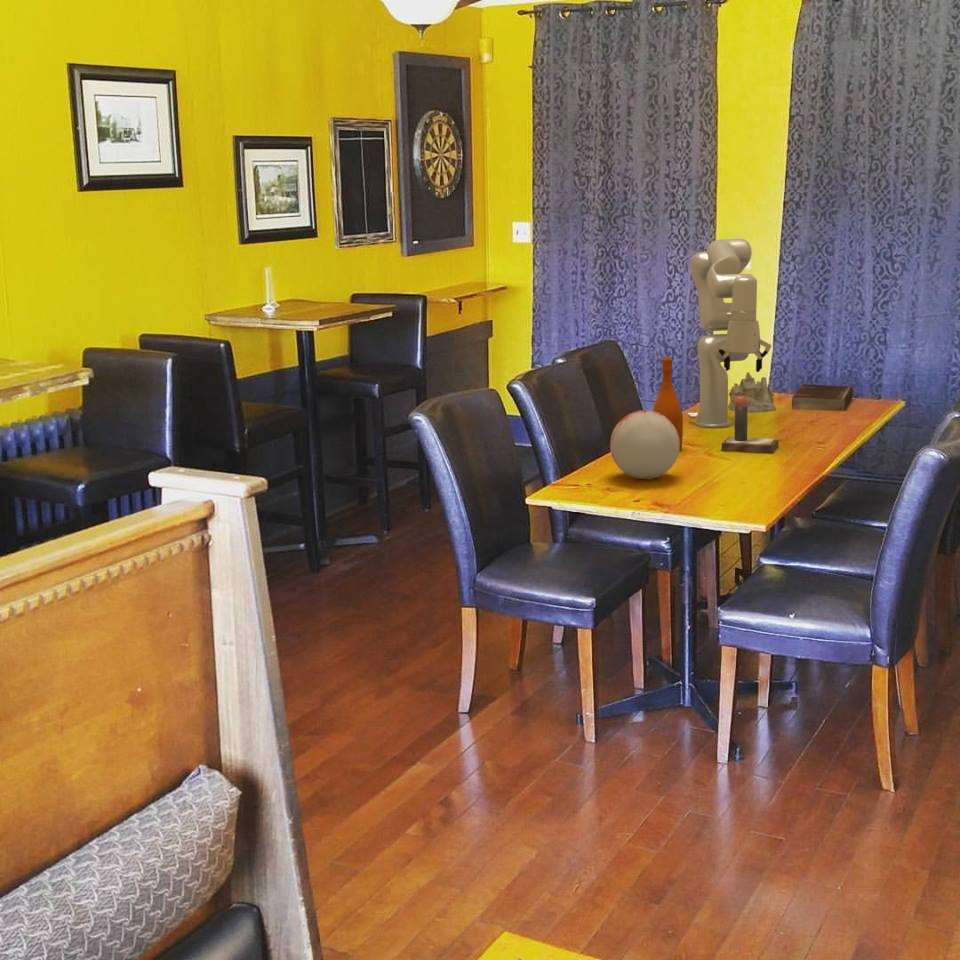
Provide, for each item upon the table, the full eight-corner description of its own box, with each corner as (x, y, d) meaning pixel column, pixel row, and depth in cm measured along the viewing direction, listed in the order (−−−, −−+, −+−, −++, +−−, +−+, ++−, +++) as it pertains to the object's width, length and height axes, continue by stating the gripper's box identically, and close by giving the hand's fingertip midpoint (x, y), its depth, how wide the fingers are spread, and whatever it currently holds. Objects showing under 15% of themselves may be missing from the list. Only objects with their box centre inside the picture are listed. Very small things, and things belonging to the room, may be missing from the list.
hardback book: (844, 412, 446) (844, 398, 445) (791, 410, 453) (792, 397, 452) (852, 398, 472) (853, 385, 471) (802, 396, 479) (803, 384, 478)
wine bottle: (686, 447, 396) (686, 355, 389) (677, 453, 387) (678, 359, 380) (656, 445, 400) (656, 354, 393) (647, 452, 392) (647, 358, 384)
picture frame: (721, 450, 389) (721, 442, 389) (728, 444, 398) (728, 436, 398) (772, 453, 383) (772, 445, 382) (778, 447, 392) (778, 438, 391)
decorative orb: (608, 471, 368) (607, 405, 363) (675, 469, 367) (675, 403, 363) (613, 488, 348) (612, 419, 343) (684, 486, 347) (684, 417, 342)
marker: (733, 440, 390) (733, 397, 387) (735, 438, 394) (736, 395, 390) (745, 441, 389) (746, 397, 385) (748, 438, 392) (748, 395, 389)
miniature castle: (779, 411, 449) (777, 370, 447) (735, 414, 449) (733, 374, 446) (767, 406, 465) (766, 366, 462) (724, 409, 464) (722, 370, 462)
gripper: (713, 317, 383) (712, 371, 388) (769, 318, 376) (767, 373, 381) (719, 314, 390) (718, 367, 394) (774, 315, 383) (772, 369, 387)
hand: (742, 370), depth 388 cm, fingers open, 9 cm apart
